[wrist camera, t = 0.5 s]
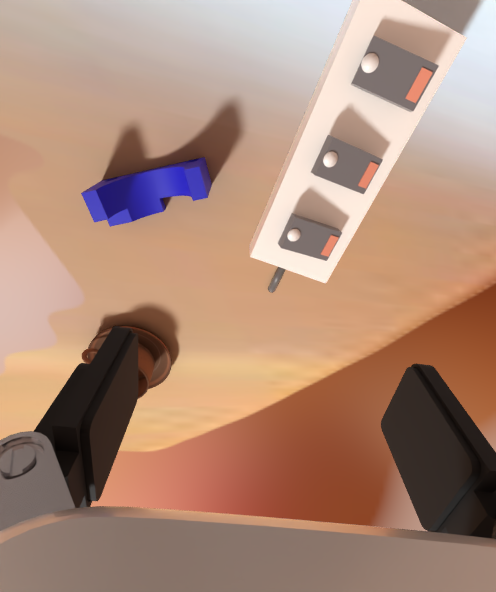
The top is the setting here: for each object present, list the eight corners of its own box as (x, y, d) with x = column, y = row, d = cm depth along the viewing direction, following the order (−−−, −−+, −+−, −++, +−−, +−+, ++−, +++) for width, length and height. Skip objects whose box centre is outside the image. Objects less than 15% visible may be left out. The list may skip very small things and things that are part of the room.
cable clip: (118, 218, 41) (100, 235, 36) (102, 180, 38) (81, 193, 33) (215, 197, 40) (211, 212, 34) (204, 156, 37) (199, 166, 32)
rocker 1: (310, 172, 33) (315, 175, 32) (328, 134, 32) (333, 137, 31) (358, 190, 36) (364, 195, 35) (376, 156, 34) (383, 159, 33)
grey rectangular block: (350, 84, 31) (351, 82, 30) (371, 38, 29) (374, 35, 28) (410, 112, 31) (413, 111, 30) (434, 67, 29) (439, 65, 28)
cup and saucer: (92, 375, 53) (76, 406, 48) (91, 313, 48) (73, 340, 42) (169, 386, 55) (161, 417, 50) (177, 327, 49) (169, 355, 44)
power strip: (235, 278, 45) (235, 291, 42) (355, -8, 30) (368, -19, 27) (303, 301, 47) (307, 315, 44) (445, 43, 32) (466, 37, 29)
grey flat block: (277, 243, 37) (281, 248, 36) (291, 213, 35) (295, 217, 34) (322, 256, 39) (327, 261, 38) (337, 228, 38) (342, 233, 37)
